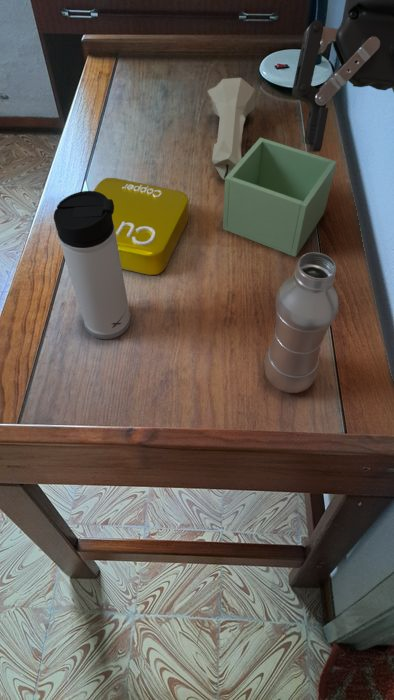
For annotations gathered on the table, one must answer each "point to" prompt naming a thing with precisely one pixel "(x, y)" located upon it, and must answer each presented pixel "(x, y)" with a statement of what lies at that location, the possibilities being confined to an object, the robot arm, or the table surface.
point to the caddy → (277, 195)
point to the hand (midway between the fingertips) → (358, 156)
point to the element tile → (145, 222)
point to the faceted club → (230, 121)
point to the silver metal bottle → (301, 323)
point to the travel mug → (94, 262)
